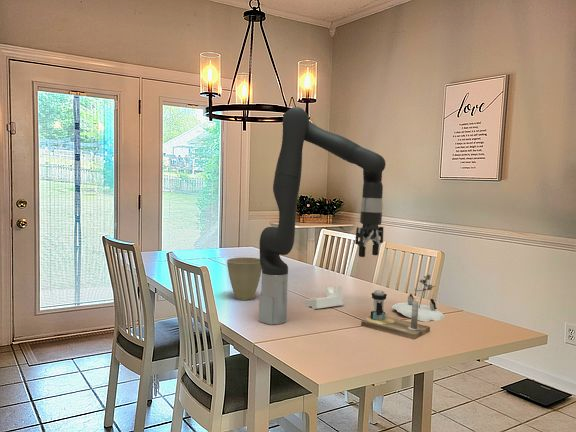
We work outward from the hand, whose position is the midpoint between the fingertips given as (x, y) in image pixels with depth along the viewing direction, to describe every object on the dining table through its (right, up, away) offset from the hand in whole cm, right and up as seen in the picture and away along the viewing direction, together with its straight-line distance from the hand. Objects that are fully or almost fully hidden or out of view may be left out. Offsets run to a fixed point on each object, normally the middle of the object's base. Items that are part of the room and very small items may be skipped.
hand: (368, 256), depth 179 cm
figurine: (+21, -24, +13) cm, 34 cm away
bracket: (-15, -22, +21) cm, 34 cm away
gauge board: (+8, -25, -6) cm, 27 cm away
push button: (+4, -23, -1) cm, 23 cm away
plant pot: (-47, -20, +29) cm, 59 cm away
